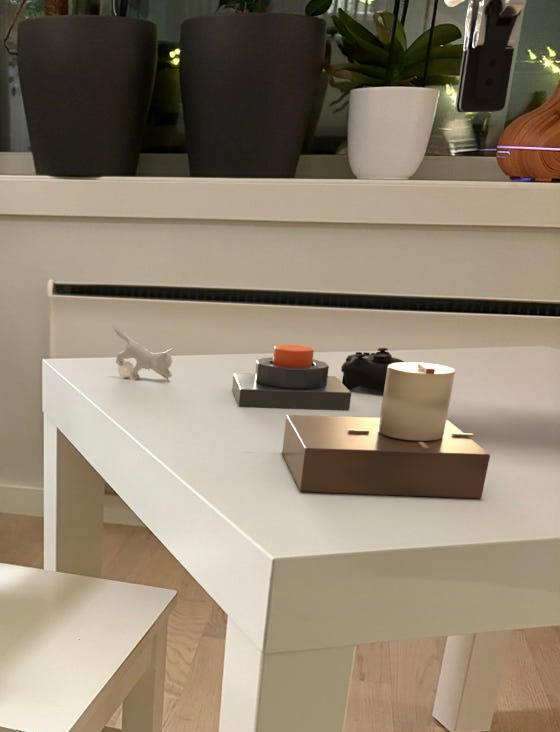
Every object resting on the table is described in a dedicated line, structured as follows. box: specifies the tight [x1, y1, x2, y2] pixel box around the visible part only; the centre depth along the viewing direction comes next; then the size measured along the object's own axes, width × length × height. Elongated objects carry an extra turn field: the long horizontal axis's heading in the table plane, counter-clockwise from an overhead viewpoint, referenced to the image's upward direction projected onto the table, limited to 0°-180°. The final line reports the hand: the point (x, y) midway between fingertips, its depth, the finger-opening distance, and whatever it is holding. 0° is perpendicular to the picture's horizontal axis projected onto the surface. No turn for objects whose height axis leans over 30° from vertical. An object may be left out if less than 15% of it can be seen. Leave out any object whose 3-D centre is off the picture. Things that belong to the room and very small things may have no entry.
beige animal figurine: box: [113, 324, 176, 382], centre depth 99 cm, size 3×8×6 cm
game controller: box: [340, 347, 406, 392], centre depth 98 cm, size 10×5×7 cm
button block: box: [231, 356, 352, 412], centre depth 91 cm, size 10×8×4 cm
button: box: [272, 344, 315, 367], centre depth 90 cm, size 4×4×2 cm
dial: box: [378, 361, 456, 441], centre depth 67 cm, size 4×4×5 cm
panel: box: [281, 414, 491, 499], centre depth 69 cm, size 12×10×3 cm
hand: (479, 110), depth 73 cm, fingers closed
